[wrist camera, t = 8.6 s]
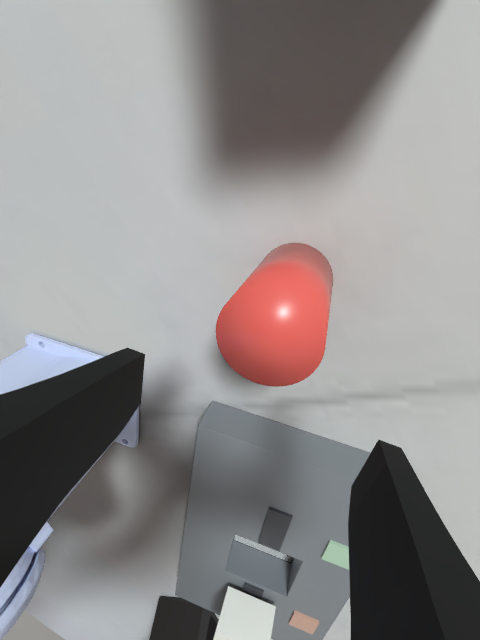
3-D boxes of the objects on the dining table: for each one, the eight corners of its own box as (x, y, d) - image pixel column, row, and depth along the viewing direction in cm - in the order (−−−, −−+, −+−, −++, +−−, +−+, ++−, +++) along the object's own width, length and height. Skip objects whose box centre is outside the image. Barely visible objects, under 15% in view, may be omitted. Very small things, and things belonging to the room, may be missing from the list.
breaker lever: (223, 603, 29) (210, 648, 26) (228, 586, 27) (215, 631, 25) (268, 623, 28) (260, 671, 25) (275, 606, 26) (268, 655, 24)
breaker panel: (186, 567, 34) (174, 597, 31) (212, 400, 23) (197, 427, 21) (314, 622, 31) (311, 659, 29) (404, 464, 21) (412, 502, 19)
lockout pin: (252, 303, 19) (209, 368, 13) (266, 235, 18) (223, 274, 11) (321, 321, 19) (308, 399, 13) (342, 252, 17) (340, 305, 11)
